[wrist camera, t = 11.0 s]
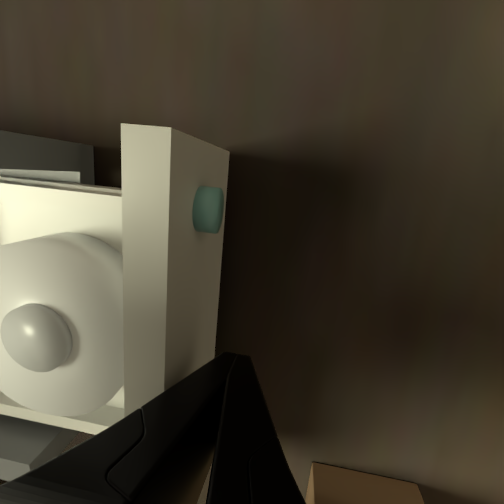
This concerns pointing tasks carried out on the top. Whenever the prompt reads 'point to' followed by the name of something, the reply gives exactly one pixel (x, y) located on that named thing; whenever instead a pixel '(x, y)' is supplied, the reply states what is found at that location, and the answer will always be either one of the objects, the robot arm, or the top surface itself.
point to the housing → (56, 169)
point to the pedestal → (357, 488)
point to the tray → (140, 256)
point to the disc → (61, 323)
